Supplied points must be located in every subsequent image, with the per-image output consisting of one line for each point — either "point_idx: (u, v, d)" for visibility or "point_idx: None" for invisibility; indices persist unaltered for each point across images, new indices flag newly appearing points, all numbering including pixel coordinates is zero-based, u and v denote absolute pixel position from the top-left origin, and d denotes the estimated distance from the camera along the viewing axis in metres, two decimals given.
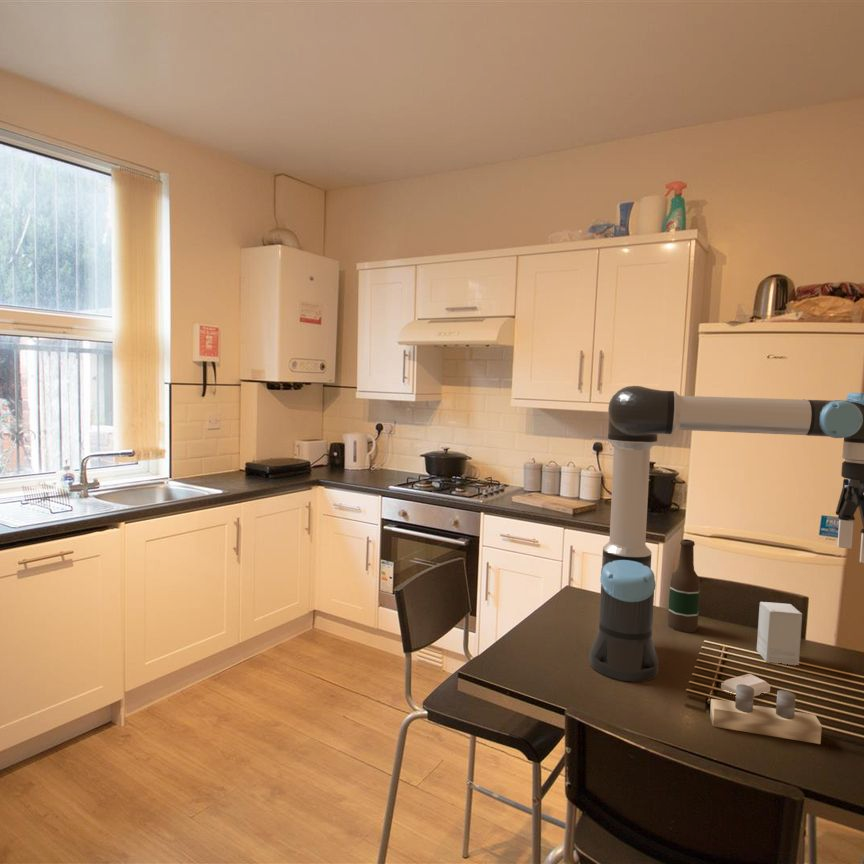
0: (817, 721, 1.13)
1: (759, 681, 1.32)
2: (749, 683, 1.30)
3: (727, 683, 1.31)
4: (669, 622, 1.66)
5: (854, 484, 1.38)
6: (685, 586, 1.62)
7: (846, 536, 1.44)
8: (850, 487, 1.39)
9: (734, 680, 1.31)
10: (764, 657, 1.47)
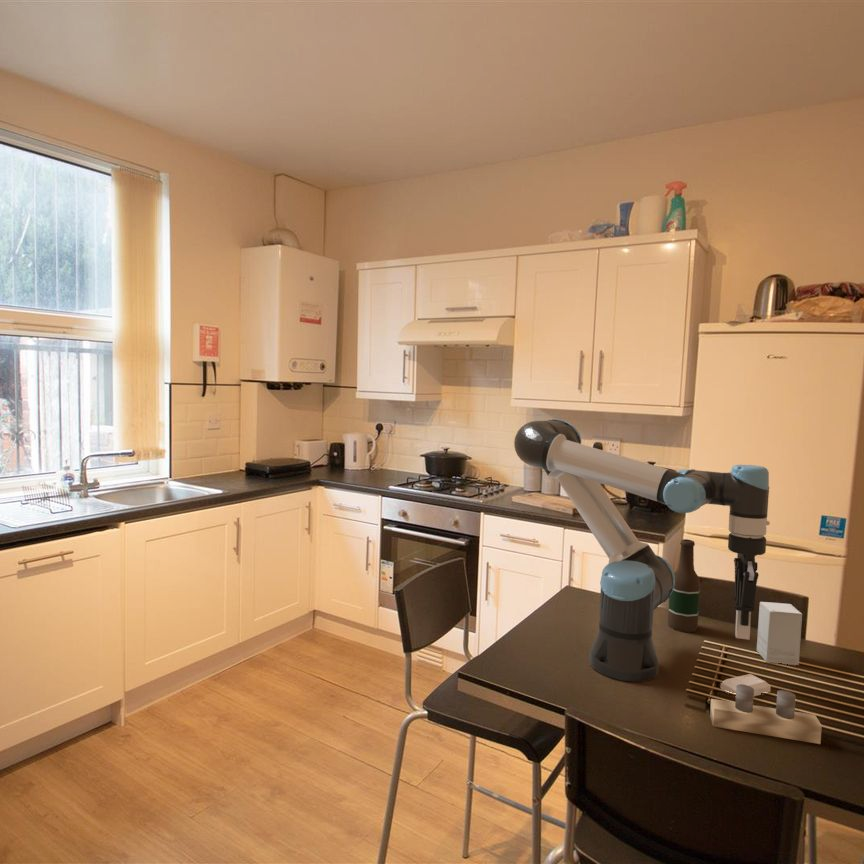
0: (817, 721, 1.13)
1: (759, 681, 1.32)
2: (749, 683, 1.30)
3: (727, 682, 1.31)
4: (669, 622, 1.66)
5: (740, 556, 1.38)
6: (685, 586, 1.62)
7: None
8: (736, 558, 1.39)
9: (734, 680, 1.31)
10: (764, 657, 1.47)
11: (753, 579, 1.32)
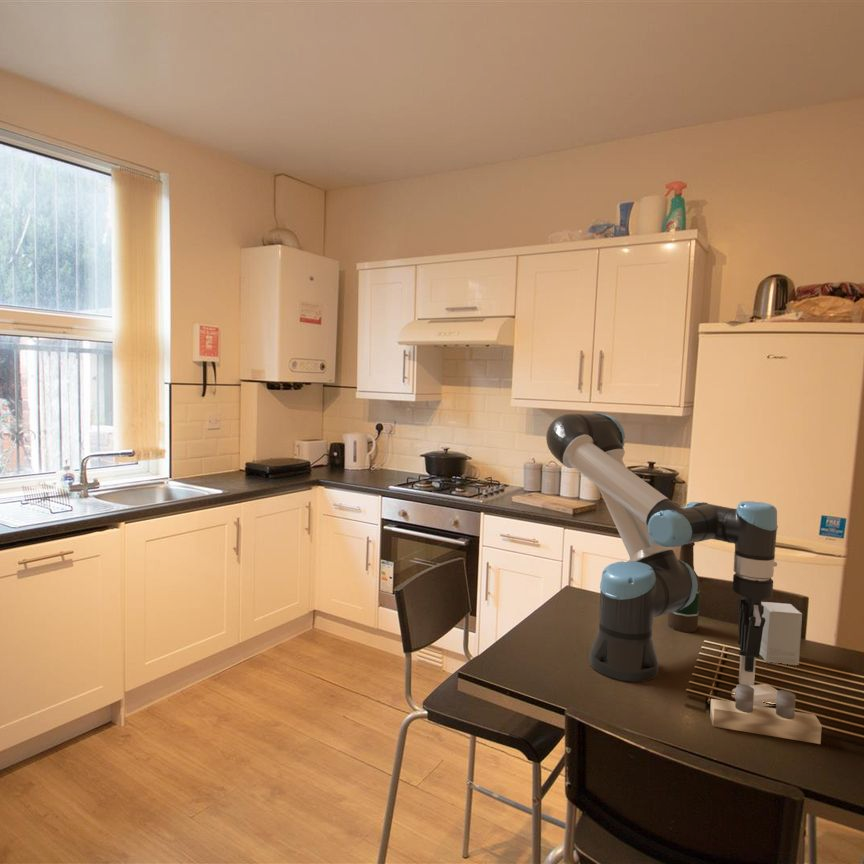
0: (817, 721, 1.13)
1: (774, 692, 1.27)
2: (761, 693, 1.26)
3: None
4: (669, 622, 1.66)
5: (745, 598, 1.31)
6: None
7: None
8: (741, 600, 1.32)
9: None
10: (764, 657, 1.47)
11: (759, 625, 1.25)
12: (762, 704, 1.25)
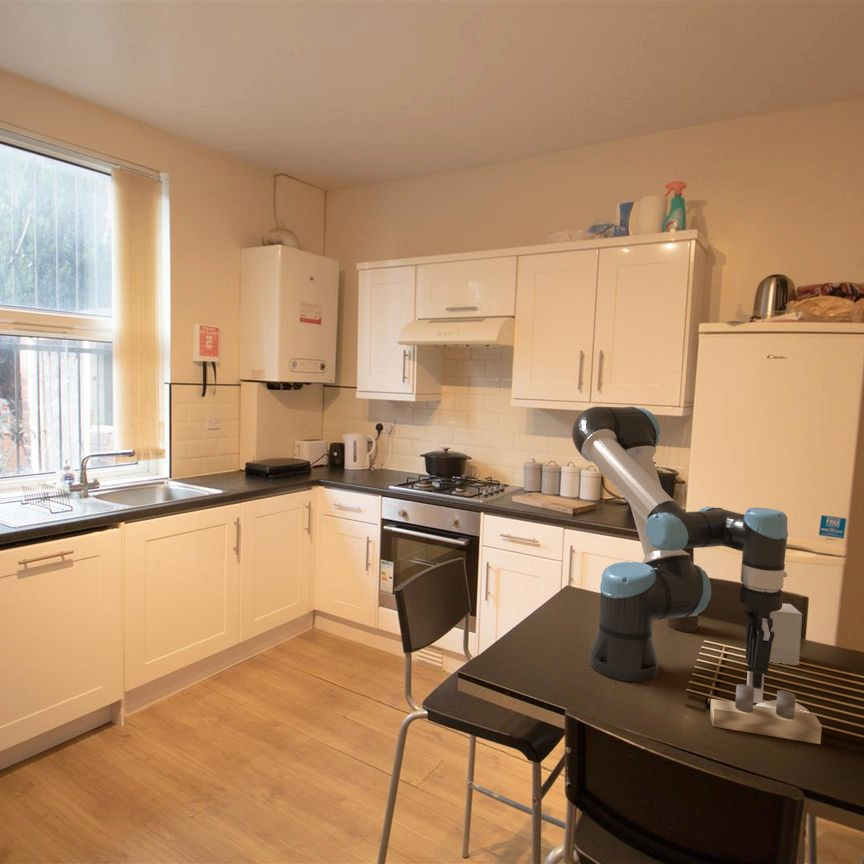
0: (817, 721, 1.13)
1: (798, 707, 1.21)
2: None
3: None
4: (669, 622, 1.66)
5: (753, 611, 1.23)
6: None
7: None
8: (749, 612, 1.24)
9: (769, 704, 1.21)
10: None
11: (768, 639, 1.17)
12: None
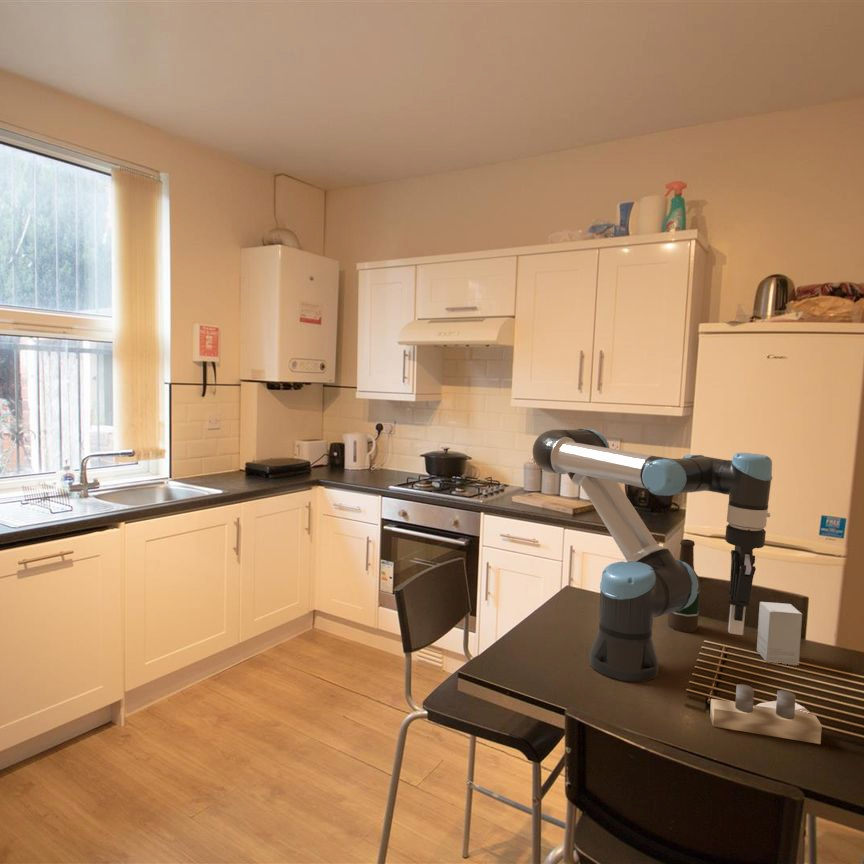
0: (817, 721, 1.13)
1: (798, 707, 1.21)
2: None
3: None
4: (669, 622, 1.66)
5: (737, 549, 1.31)
6: None
7: None
8: (733, 550, 1.32)
9: (769, 704, 1.21)
10: (764, 657, 1.47)
11: (749, 573, 1.26)
12: None
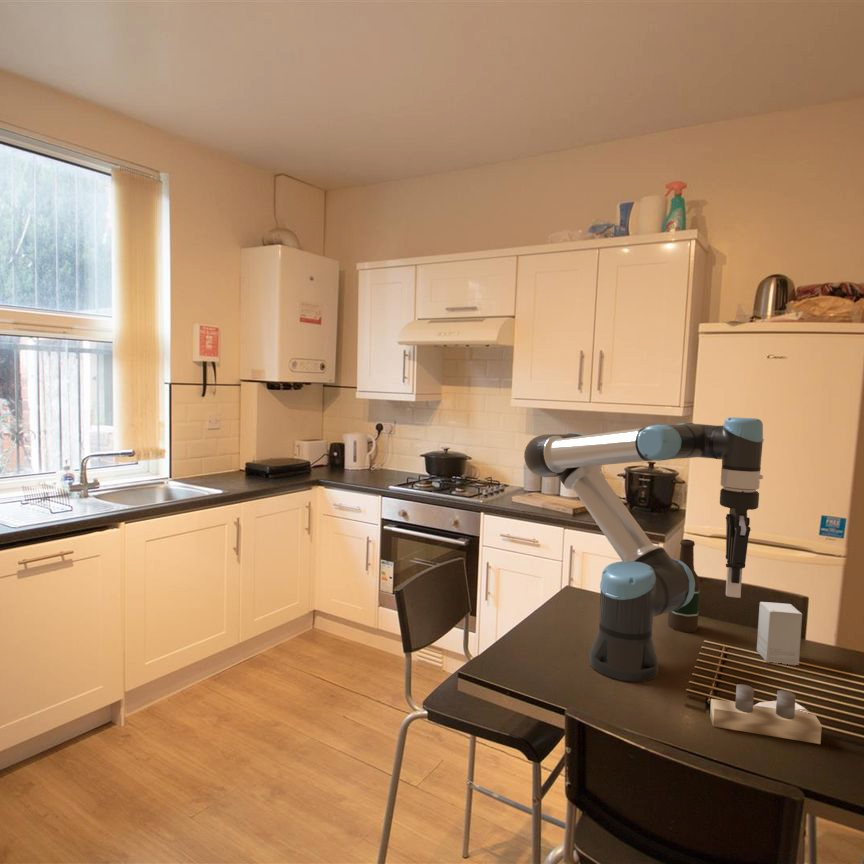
0: (817, 721, 1.13)
1: (799, 708, 1.21)
2: None
3: None
4: (669, 622, 1.66)
5: (732, 512, 1.33)
6: None
7: None
8: (728, 514, 1.34)
9: (769, 704, 1.21)
10: (764, 657, 1.47)
11: (745, 534, 1.27)
12: None
